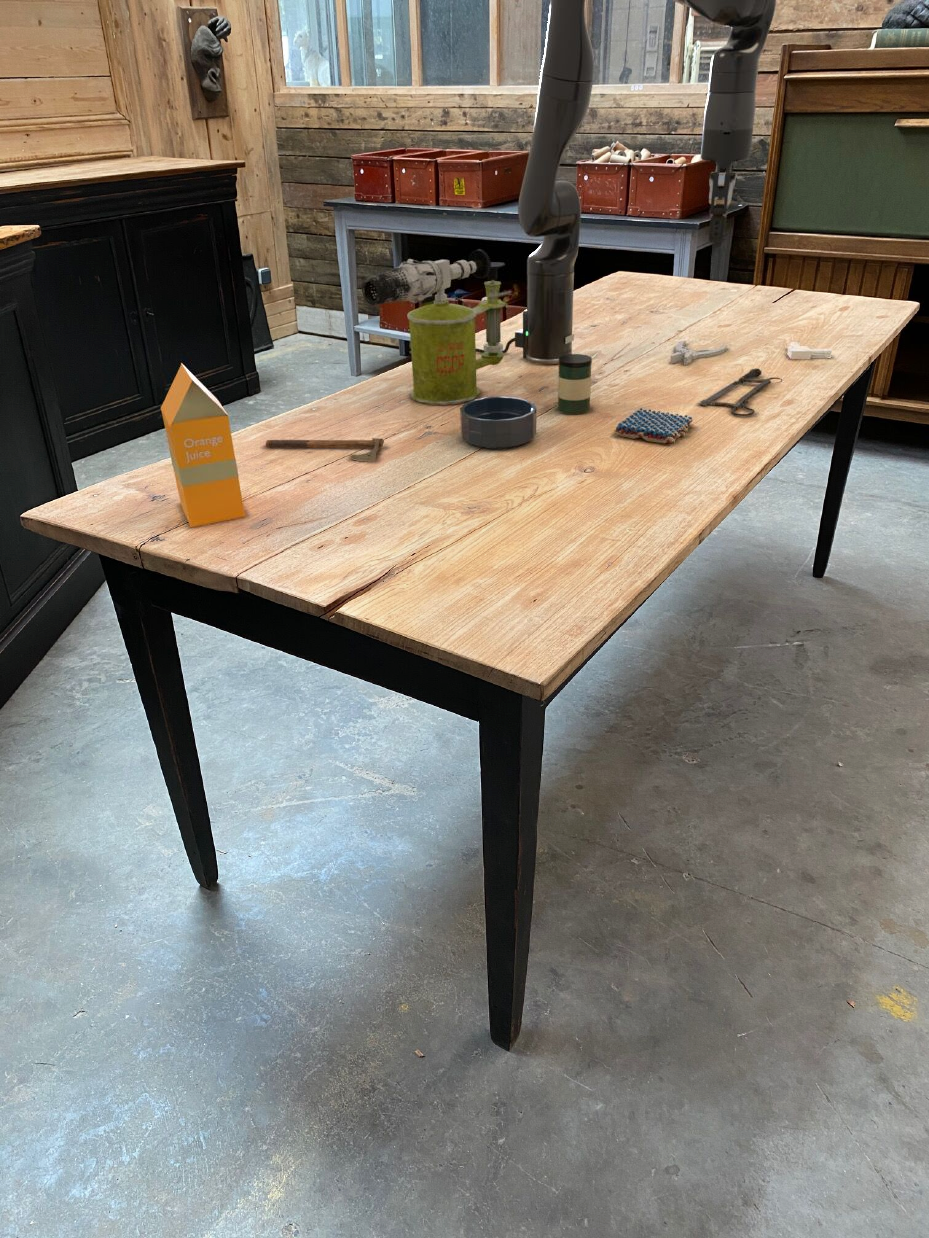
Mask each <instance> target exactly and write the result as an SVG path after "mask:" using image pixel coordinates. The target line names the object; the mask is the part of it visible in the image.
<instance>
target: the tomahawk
mask: <svg viewBox="0 0 929 1238" xmlns="http://www.w3.org/2000/svg"><path fill="white" fill-rule="evenodd" d="M384 444H385V439H383V438H378V437H377V438H376V437H372V439H267V440H266V441H265V447H266V448H372V450H370V451H368V452H365V453H362V454H351V455H350V457H351V458H350V460H352V461H357V462H367V463H368V462H370V463H376V462H377V454H378V451H380V450H381V448H383V447H384Z"/></svg>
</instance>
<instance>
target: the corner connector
mask: <svg viewBox="0 0 929 1238" xmlns="http://www.w3.org/2000/svg"><path fill="white" fill-rule="evenodd" d="M788 344H789V345H788V347H787V348H786V350H787V352H786V353H787V356H788V357H789V359H790V360H811V359H832V349H831V348H809V346H807V345H800V343H798V341H790V343H788Z"/></svg>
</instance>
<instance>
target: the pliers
mask: <svg viewBox="0 0 929 1238" xmlns="http://www.w3.org/2000/svg"><path fill="white" fill-rule="evenodd" d="M686 344H687V340H685V339H683V340H681V341H679V342H678V343H676V345H675V349H674V351H675V353H672V354H670V360H669V363H670V364H676V363H679V362H681V361H683V366H688V365H689V364H690V363H691V362H692V360H697V359H700V358H709V357H713V356H717V355H721V354H722V353H724V352H725V351H726V350H727V347H728V345H727V344H724V345H722V346H720V347H718V348H715V349H699V350H695V352H694V350H691V348H690V347H687V346H685V345H686Z"/></svg>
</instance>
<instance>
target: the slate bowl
mask: <svg viewBox="0 0 929 1238" xmlns="http://www.w3.org/2000/svg"><path fill="white" fill-rule="evenodd" d="M537 409H538V408H537V407H536V404H535V403H534V402H532V401H530V400H528V399H525V398H520V397H516V396H515V397H514V396H502V395H501V396H500V395H499V396H485V397H481V398H475V399H473V400H470V401H467V402H464V403H463V405H462V406H461V407H460V408H459V415H460V417H459V418H460V435H461V438H462V440H463V441H464V442H467V443H468V444H470V445H475V446H476V447H480V448H485V449H509V448H514V447H519V446H520V445H523V444H527V443H528V442H530V441H532V440H534V439H535V437H536V436H537V416H538V415H537V413H538V412H537Z"/></svg>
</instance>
